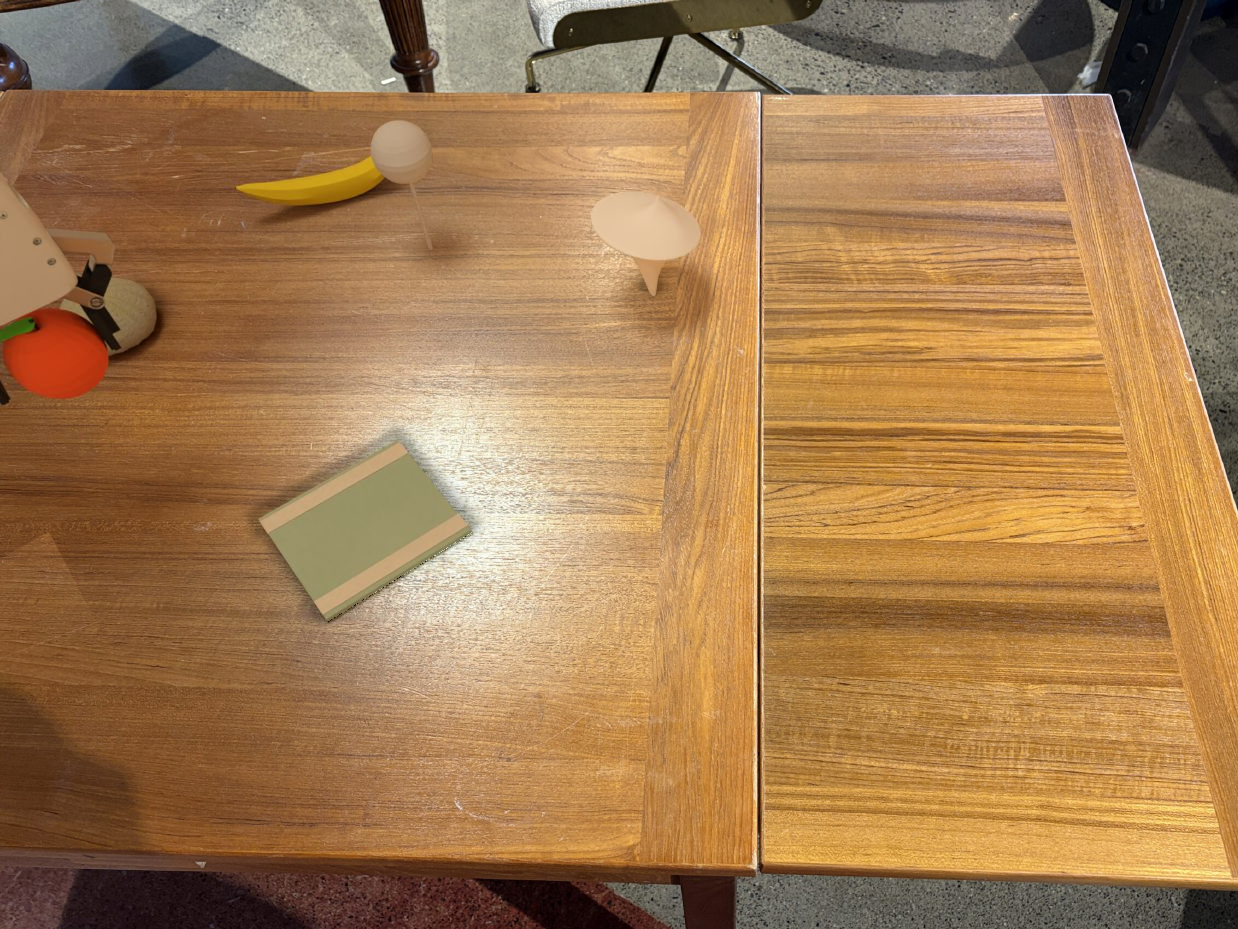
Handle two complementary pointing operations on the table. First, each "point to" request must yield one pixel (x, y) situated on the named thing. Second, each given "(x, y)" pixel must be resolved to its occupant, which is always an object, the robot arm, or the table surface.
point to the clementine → (54, 353)
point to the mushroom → (646, 230)
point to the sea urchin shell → (125, 312)
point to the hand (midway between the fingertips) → (56, 365)
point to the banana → (318, 186)
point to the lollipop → (403, 157)
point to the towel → (363, 528)
